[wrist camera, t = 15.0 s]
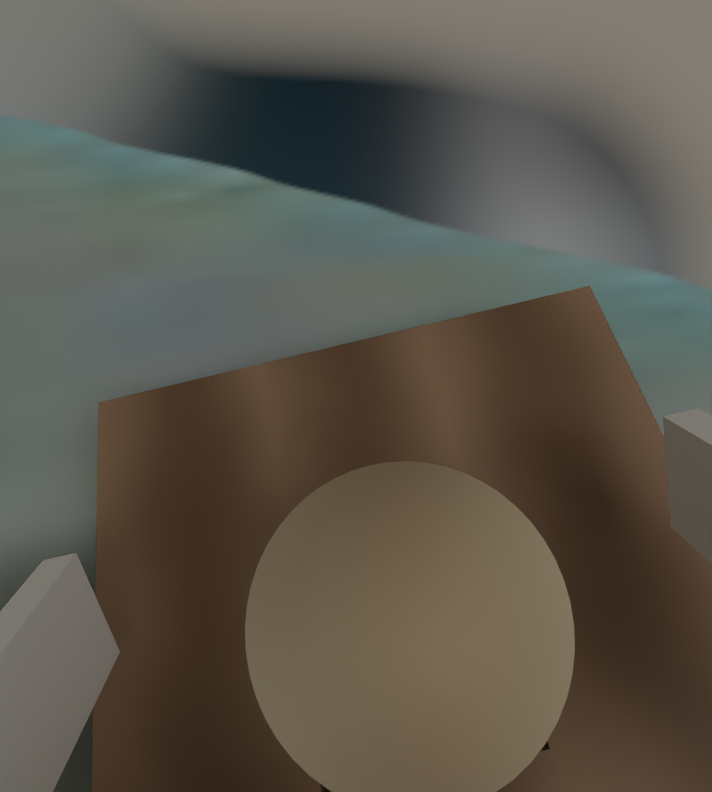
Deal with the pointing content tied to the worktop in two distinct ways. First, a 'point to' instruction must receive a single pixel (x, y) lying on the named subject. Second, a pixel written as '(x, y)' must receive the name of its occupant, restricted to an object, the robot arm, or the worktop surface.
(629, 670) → the walnut hole block
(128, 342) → the worktop surface
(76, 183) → the worktop surface
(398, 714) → the birch pin
